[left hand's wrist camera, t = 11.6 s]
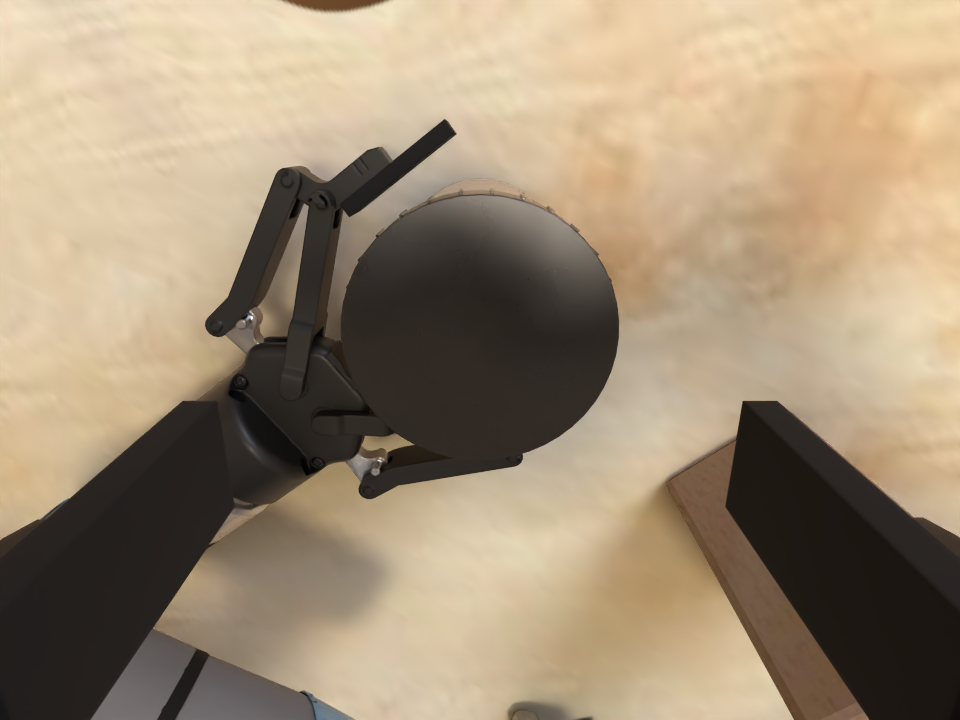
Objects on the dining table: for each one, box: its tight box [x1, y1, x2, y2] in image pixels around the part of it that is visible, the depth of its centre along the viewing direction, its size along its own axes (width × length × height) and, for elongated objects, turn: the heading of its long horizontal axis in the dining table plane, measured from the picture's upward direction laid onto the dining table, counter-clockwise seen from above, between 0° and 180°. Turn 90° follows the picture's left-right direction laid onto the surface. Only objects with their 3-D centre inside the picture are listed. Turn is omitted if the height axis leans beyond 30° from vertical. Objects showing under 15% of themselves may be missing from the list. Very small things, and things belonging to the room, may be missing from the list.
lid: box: [341, 188, 619, 460], centre depth 22 cm, size 10×10×2 cm
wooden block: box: [668, 412, 914, 720], centre depth 34 cm, size 10×10×20 cm
